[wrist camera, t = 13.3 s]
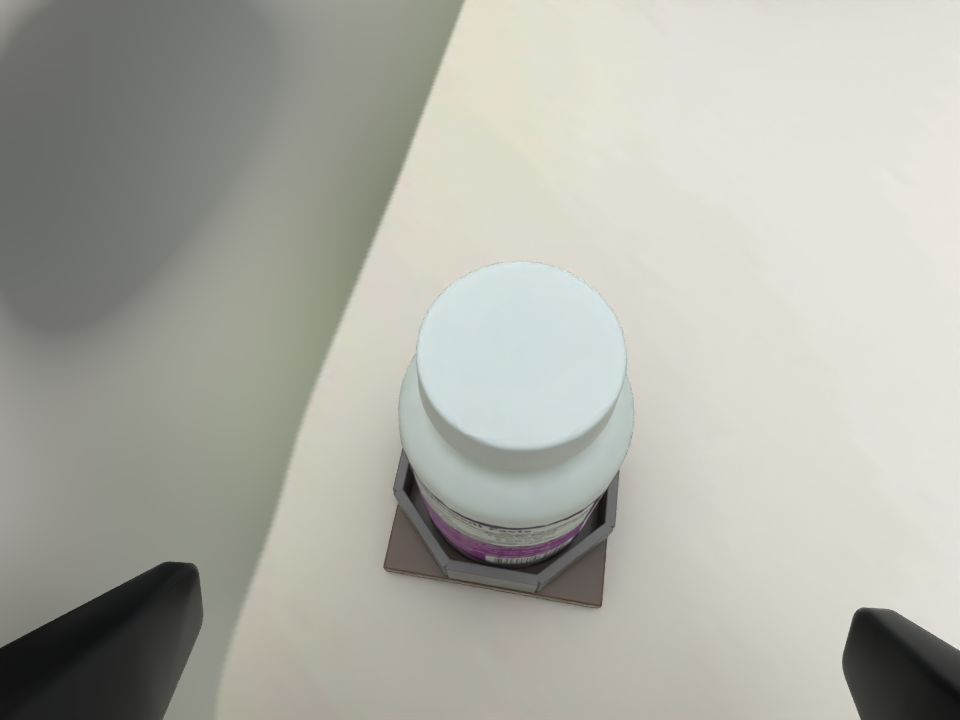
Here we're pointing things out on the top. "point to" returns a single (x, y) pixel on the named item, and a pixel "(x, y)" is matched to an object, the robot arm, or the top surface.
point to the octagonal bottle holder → (554, 579)
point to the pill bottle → (516, 411)
